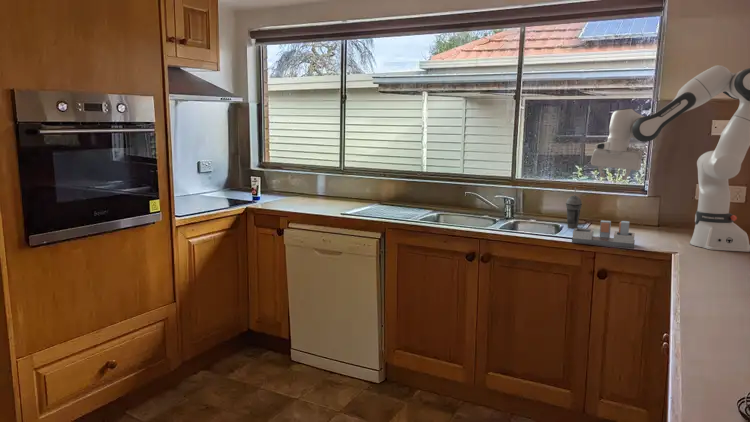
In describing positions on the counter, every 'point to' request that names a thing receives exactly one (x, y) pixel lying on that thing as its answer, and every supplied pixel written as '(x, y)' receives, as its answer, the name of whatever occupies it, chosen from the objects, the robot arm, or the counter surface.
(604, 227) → the grey and orange block
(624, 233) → the block
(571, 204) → the beverage cup
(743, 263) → the counter surface
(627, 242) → the rail
